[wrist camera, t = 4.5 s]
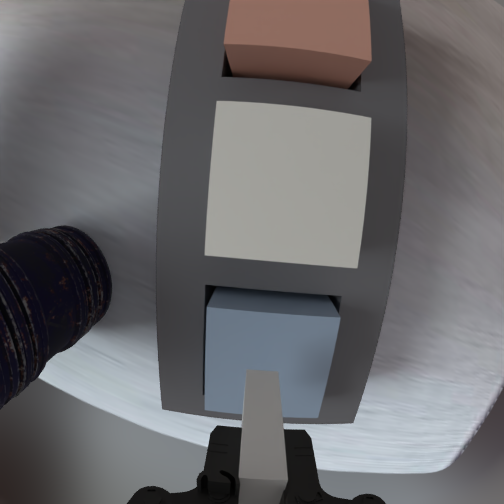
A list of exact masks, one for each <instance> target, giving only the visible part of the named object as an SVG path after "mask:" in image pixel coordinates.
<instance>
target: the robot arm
mask: <svg viewBox="0 0 504 504" xmlns="http://www.w3.org/2000/svg"><path fill="white" fill-rule="evenodd" d="M127 504H385V502H384V501H383V500H382V499H381V498H380V497H378V496H376V495H373V494H363V495H359V496H357V497H355V498H354V499H353V500H348V499H342V498H336V497H333V496H331V495H329V494H327V493H326V492H324V491H323V489H322V488H321V486H320V484H319V479H318V474H317V468H316V462H315V457H314V451H313V446H312V440H311V437H310V436H309V435H308V433H307V432H306V431H305V430H290V429H284V428H283V417H282V406H281V395H280V384H279V373H278V371H262V370H249V369H247V370H246V381H245V392H244V403H243V414H242V427H241V428H239V427H228V426H218V425H217V426H216V428H215V429H214V430H213V431H212V432H211V434H210V440H209V445H208V450H207V455H206V461H205V466H204V471H202V472H201V473H200V474H199V476H198V478H197V487H196V488H195V489H193V490H190V491H187V492H182V493H181V492H180V493H169V492H168V491H166V490H164V489H163V488H160V487H156V486H150V487H149V486H147V487H144V488H141V489H139V490H138V491H137V492H136V493H135V494H134V495H133V496H132V498H131V499H130V500H129V502H128V503H127Z"/></svg>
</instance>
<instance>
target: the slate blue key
mask: <svg viewBox="0 0 504 504" xmlns="http://www.w3.org/2000/svg"><path fill="white" fill-rule="evenodd" d="M340 319H341V317H340V315H339V314H338V312H337V310H336V308H335V307H334V305H333V303H332V301H331V300H330V298H329V296H328V295H322V294H308V293H294V292H282V291H270V290H258V289H247V288H236V287H225V286H217V287H216V289H215V291H214V293H213V295H212V297H211V299H210V301H209V303H208V305H207V315H206V348H205V410H208V411H216V412H224V413H234V414H243V403H244V392H245V381H246V370H247V369H249V370H262V371H278V373H279V384H280V395H281V406H282V417H293V418H318V416H319V412H320V408H321V404H322V400H323V396H324V392H325V388H326V384H327V380H328V376H329V371H330V367H331V363H332V358H333V353H334V349H335V344H336V339H337V334H338V329H339V324H340Z"/></svg>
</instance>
